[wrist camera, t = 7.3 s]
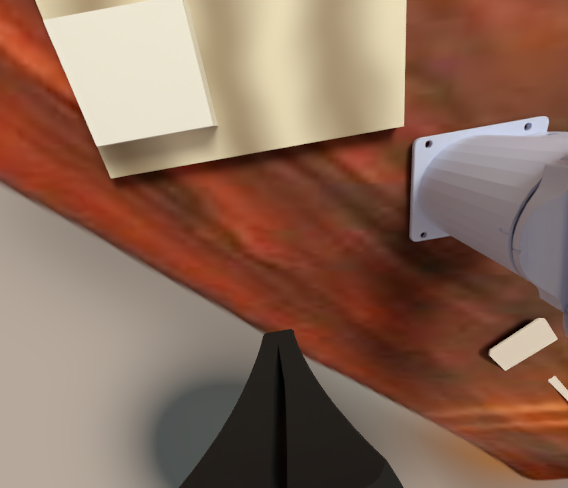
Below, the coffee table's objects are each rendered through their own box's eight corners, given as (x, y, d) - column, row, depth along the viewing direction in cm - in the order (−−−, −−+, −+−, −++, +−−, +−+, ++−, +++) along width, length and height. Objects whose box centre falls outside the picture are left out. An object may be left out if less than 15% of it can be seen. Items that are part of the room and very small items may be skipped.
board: (400, -184, 13) (410, -208, 12) (397, 126, 19) (403, 126, 18) (1, -107, 13) (-19, -125, 12) (118, 176, 19) (110, 178, 18)
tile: (180, -6, 13) (42, 20, 13) (213, 125, 15) (96, 146, 16) (189, 8, 15) (65, 31, 15) (217, 125, 17) (111, 145, 17)
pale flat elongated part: (529, 306, 27) (543, 316, 25) (623, 423, 36) (638, 434, 34) (476, 342, 28) (486, 353, 27) (580, 445, 37) (591, 457, 36)
